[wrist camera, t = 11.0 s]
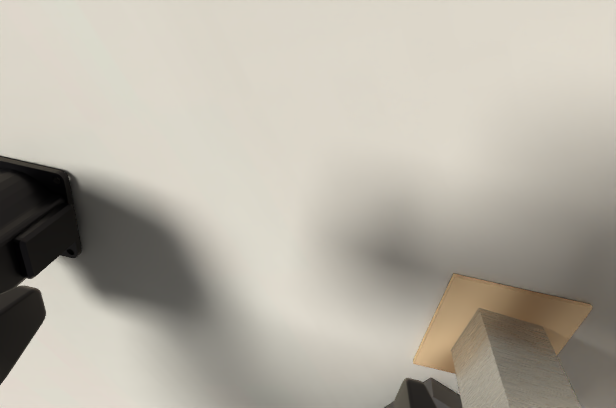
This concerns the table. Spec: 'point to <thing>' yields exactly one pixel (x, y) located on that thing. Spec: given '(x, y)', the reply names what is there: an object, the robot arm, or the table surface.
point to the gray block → (509, 365)
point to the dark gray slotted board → (440, 395)
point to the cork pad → (500, 299)
